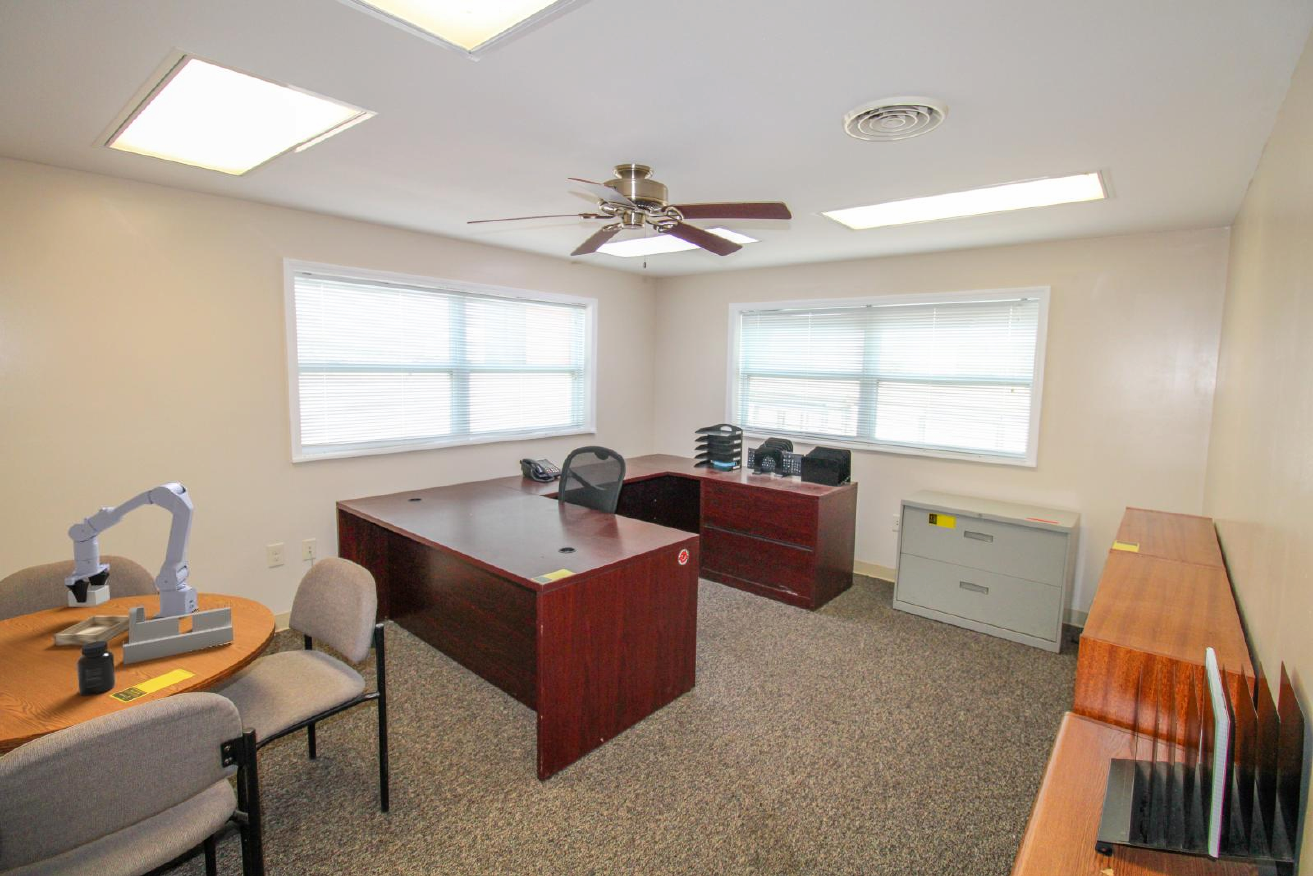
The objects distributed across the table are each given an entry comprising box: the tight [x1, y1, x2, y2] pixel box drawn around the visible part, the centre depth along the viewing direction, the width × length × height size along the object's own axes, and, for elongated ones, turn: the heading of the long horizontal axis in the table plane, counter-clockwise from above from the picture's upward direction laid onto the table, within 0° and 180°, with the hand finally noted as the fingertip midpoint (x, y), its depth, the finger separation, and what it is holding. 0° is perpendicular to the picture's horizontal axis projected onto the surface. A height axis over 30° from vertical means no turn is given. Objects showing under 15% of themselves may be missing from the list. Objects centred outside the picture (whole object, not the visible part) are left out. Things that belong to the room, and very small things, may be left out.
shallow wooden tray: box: [53, 615, 129, 646], centre depth 182 cm, size 12×14×3 cm
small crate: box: [67, 585, 111, 608], centre depth 192 cm, size 8×5×5 cm
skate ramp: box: [122, 602, 234, 665], centre depth 182 cm, size 25×23×10 cm
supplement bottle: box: [76, 641, 116, 696], centre depth 152 cm, size 7×7×12 cm
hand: (89, 598), depth 192 cm, fingers closed on small crate, 5 cm apart
